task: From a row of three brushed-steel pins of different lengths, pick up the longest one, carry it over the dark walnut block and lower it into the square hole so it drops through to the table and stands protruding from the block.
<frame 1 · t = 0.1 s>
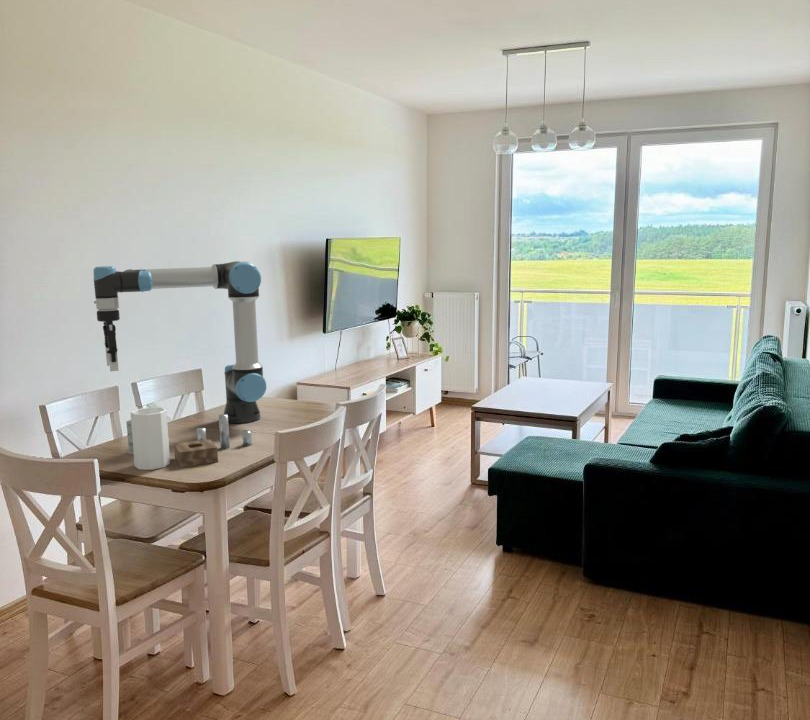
hand: (112, 368, 271), 28 cm above the table, fingers open, 13 cm apart
hole block: (196, 459, 253), on the table
cup: (152, 465, 247), on the table
long pin: (225, 447, 267), on the table
ink box: (142, 453, 262), on the table
short pin: (247, 444, 270), on the table
medium pin: (202, 451, 263), on the table
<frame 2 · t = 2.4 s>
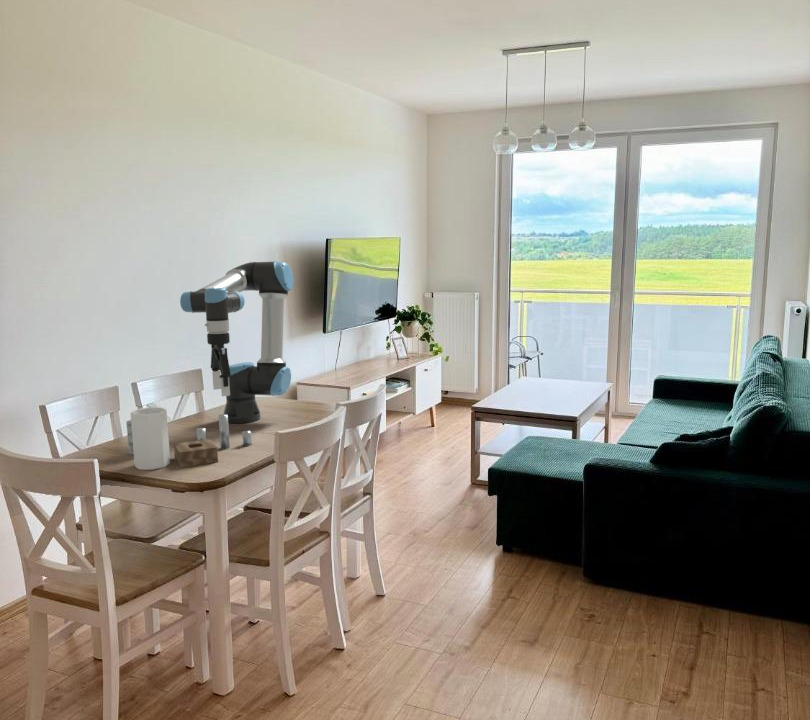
hand: (221, 392, 263), 20 cm above the table, fingers open, 13 cm apart
nothing on the table moved.
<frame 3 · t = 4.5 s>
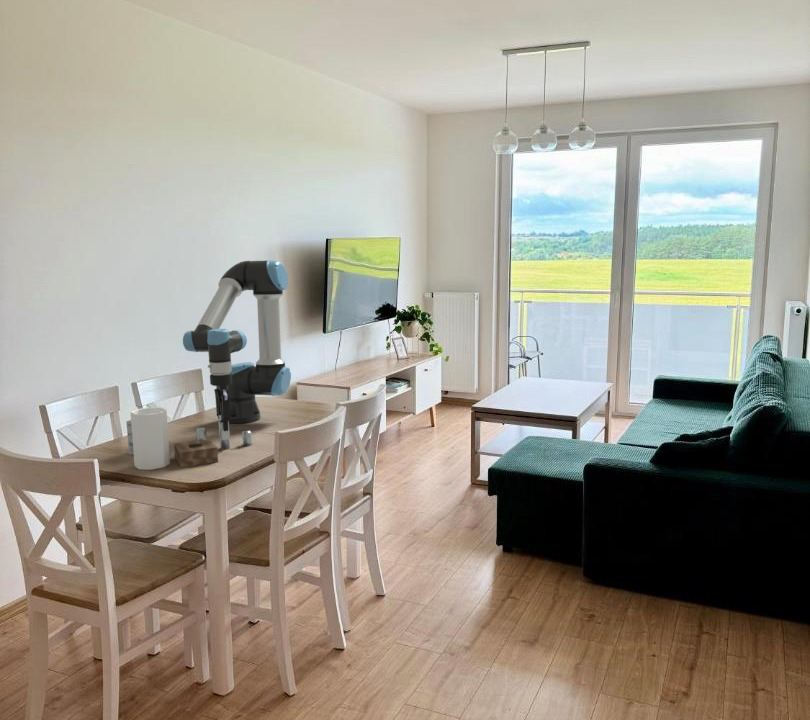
hand: (224, 438, 266), 4 cm above the table, fingers closed on long pin, 3 cm apart
long pin: (225, 447, 267), on the table, touching gripper
everything else where it was.
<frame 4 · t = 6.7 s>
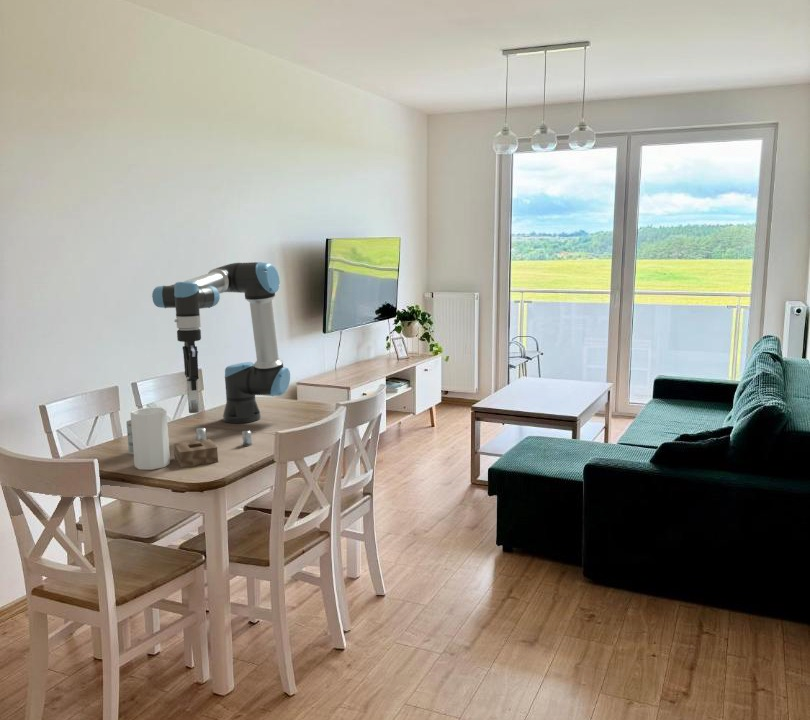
hand: (192, 398, 249), 21 cm above the table, fingers closed on long pin, 3 cm apart
long pin: (193, 412, 250), point 17 cm above the table, touching gripper
everything else where it was.
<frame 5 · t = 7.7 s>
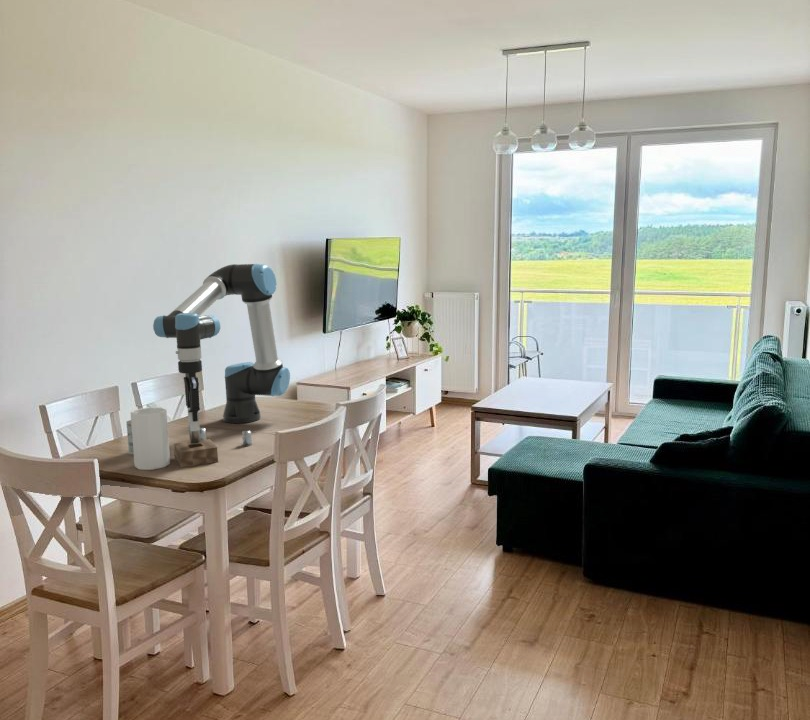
hand: (194, 429, 251), 11 cm above the table, fingers closed on long pin, 3 cm apart
long pin: (195, 442, 252), point 6 cm above the table, touching gripper
everything else where it was.
when the fingers open (6 cm above the table, at t = 8.8 s): long pin drops 2 cm, resting in hole block.
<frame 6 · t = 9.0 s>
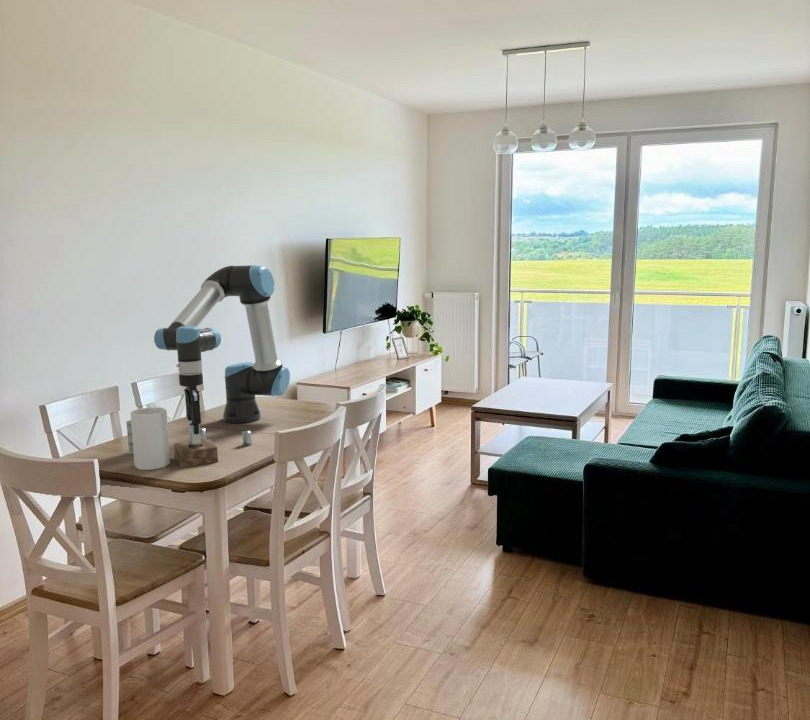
hand: (195, 441, 251), 7 cm above the table, fingers open, 5 cm apart
long pin: (196, 459, 252), resting in hole block, touching gripper
everything else where it was.
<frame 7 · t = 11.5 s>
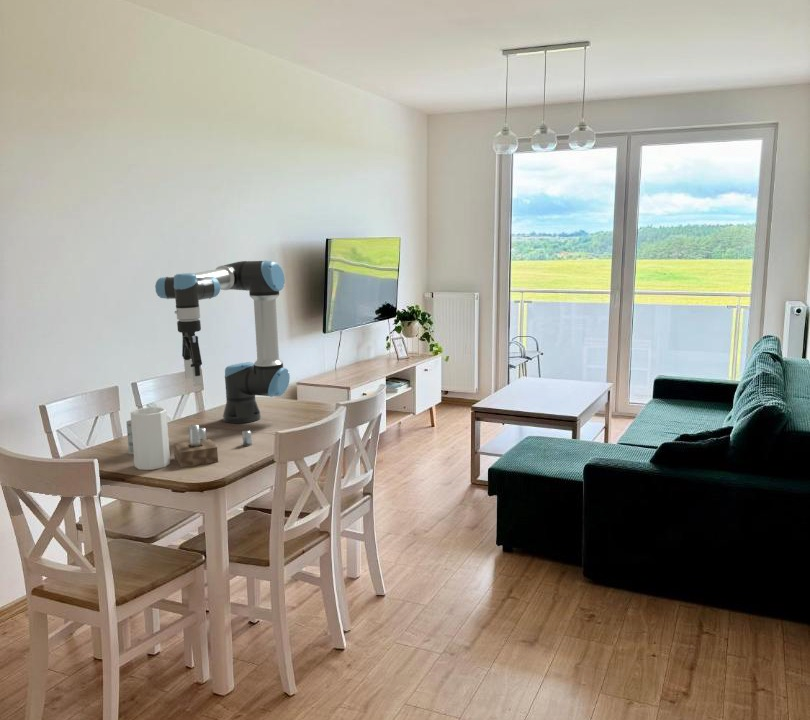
hand: (193, 381, 255), 26 cm above the table, fingers open, 13 cm apart
long pin: (196, 460, 252), resting in hole block
everything else where it was.
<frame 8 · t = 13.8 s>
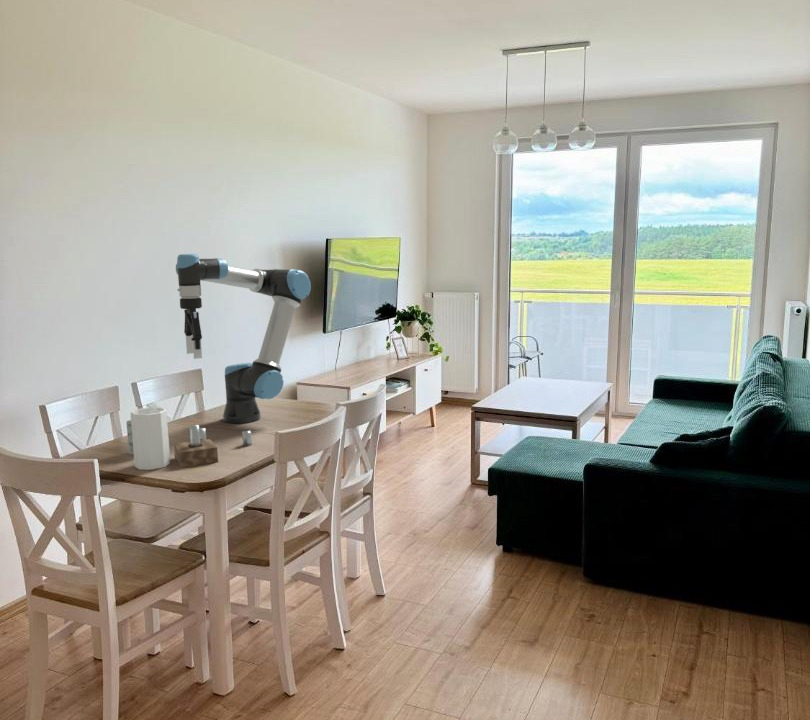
hand: (194, 355, 272), 32 cm above the table, fingers open, 13 cm apart
nothing on the table moved.
at the end: long pin 0.1 cm off-centre on the hole block, point 0.0 cm above the hole block's base; long pin tilted 0°; the gripper is holding nothing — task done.
